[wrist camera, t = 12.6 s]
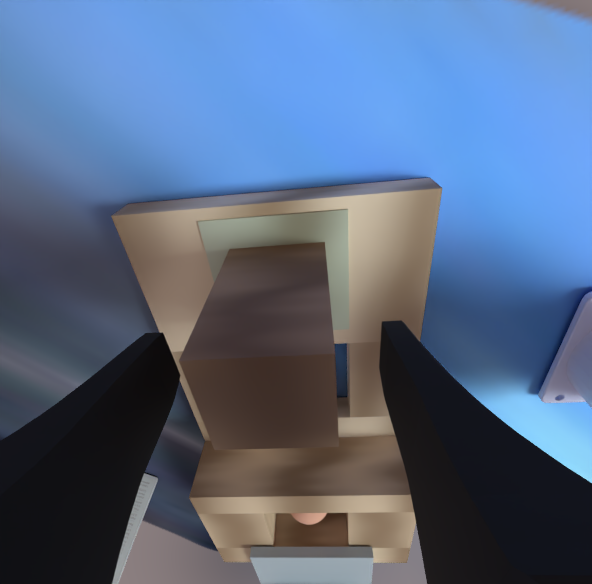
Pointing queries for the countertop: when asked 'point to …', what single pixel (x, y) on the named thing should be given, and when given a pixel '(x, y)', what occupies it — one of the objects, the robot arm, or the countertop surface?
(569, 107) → the countertop surface
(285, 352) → the walnut block
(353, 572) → the lid
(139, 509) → the small box
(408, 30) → the countertop surface
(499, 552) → the robot arm
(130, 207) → the puzzle board
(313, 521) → the ball
